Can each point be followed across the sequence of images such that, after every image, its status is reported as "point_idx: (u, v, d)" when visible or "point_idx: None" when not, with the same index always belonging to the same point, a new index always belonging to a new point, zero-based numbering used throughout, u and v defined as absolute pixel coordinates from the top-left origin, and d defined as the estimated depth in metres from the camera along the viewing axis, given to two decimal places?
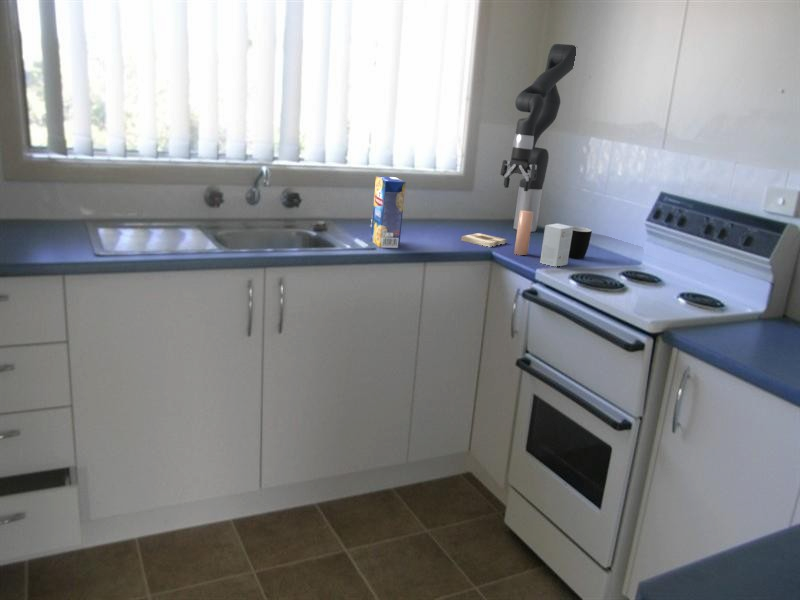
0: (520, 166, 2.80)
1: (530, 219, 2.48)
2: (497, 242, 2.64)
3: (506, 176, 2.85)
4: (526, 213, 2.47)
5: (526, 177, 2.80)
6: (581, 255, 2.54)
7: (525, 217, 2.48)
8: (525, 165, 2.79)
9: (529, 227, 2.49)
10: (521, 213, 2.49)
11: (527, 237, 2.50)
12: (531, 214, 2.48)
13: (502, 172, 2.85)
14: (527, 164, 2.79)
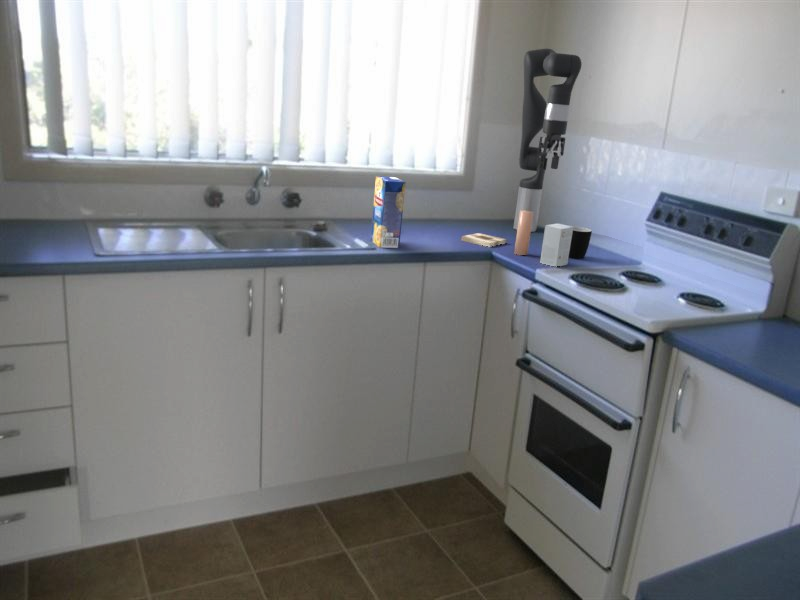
0: (559, 142, 2.38)
1: (530, 219, 2.48)
2: (497, 242, 2.64)
3: None
4: (526, 213, 2.47)
5: (559, 153, 2.42)
6: (581, 255, 2.54)
7: (525, 217, 2.48)
8: (559, 140, 2.40)
9: (529, 227, 2.49)
10: (521, 213, 2.49)
11: (527, 237, 2.50)
12: (531, 214, 2.48)
13: (545, 152, 2.34)
14: (560, 138, 2.40)
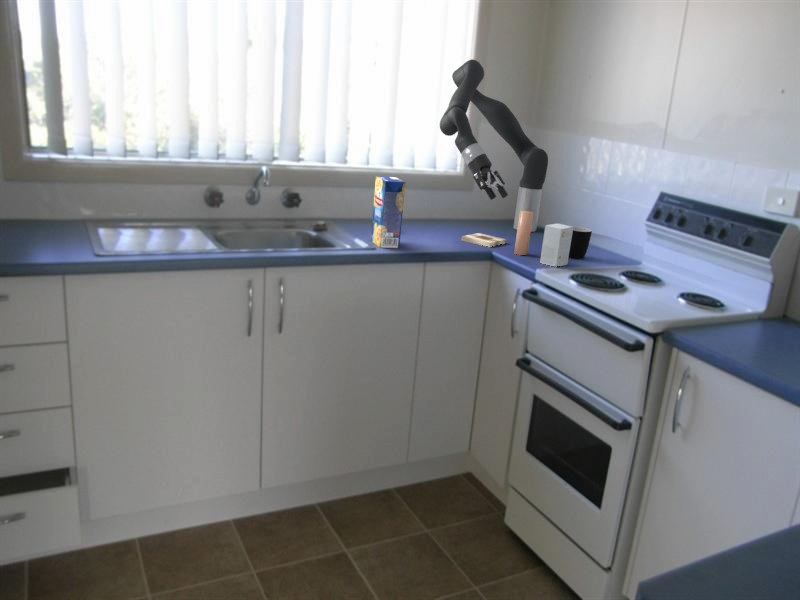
0: (492, 172, 2.56)
1: (530, 219, 2.48)
2: (497, 242, 2.64)
3: (489, 186, 2.52)
4: (526, 213, 2.47)
5: (500, 182, 2.58)
6: (581, 255, 2.54)
7: (525, 217, 2.48)
8: None
9: (529, 227, 2.49)
10: (521, 213, 2.49)
11: (527, 237, 2.50)
12: (531, 214, 2.48)
13: (485, 183, 2.50)
14: None
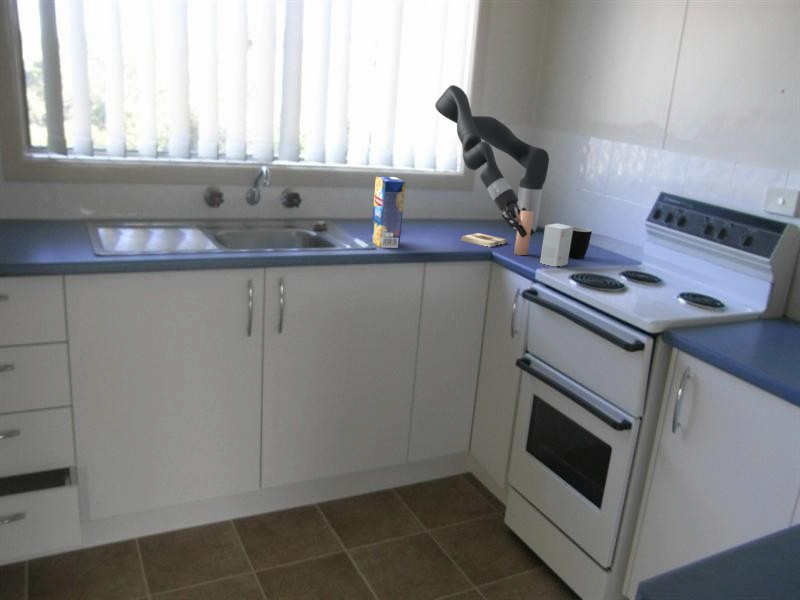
0: (519, 208, 2.52)
1: (530, 219, 2.48)
2: (497, 242, 2.64)
3: (520, 223, 2.49)
4: (526, 213, 2.47)
5: None
6: (581, 255, 2.54)
7: (525, 217, 2.48)
8: None
9: (529, 227, 2.49)
10: (521, 213, 2.49)
11: (527, 237, 2.50)
12: (531, 214, 2.48)
13: (515, 221, 2.47)
14: (519, 207, 2.55)
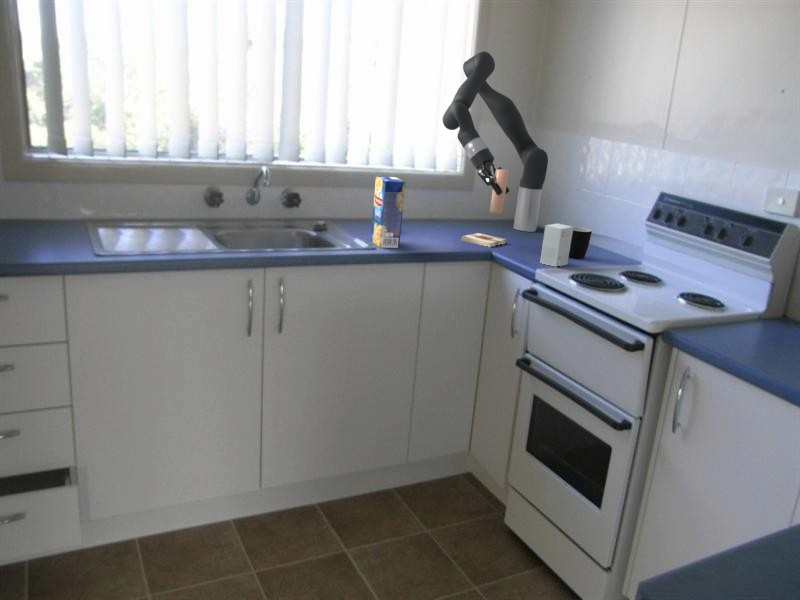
0: (495, 166, 2.59)
1: (505, 177, 2.55)
2: (497, 242, 2.64)
3: (496, 181, 2.56)
4: (501, 171, 2.54)
5: None
6: (581, 255, 2.54)
7: (500, 175, 2.55)
8: None
9: (504, 185, 2.56)
10: (496, 171, 2.56)
11: (502, 195, 2.57)
12: (506, 172, 2.55)
13: (491, 179, 2.54)
14: (495, 166, 2.62)
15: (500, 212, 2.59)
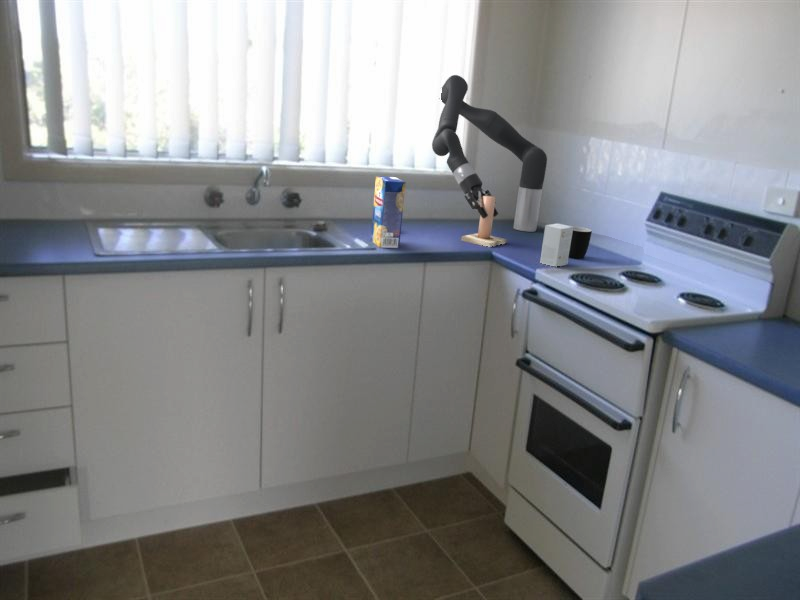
0: (483, 191, 2.66)
1: (492, 204, 2.62)
2: (497, 242, 2.64)
3: None
4: (488, 198, 2.61)
5: None
6: (581, 255, 2.54)
7: (487, 202, 2.61)
8: None
9: (491, 211, 2.63)
10: (483, 198, 2.62)
11: (489, 221, 2.64)
12: (493, 199, 2.62)
13: (476, 202, 2.60)
14: (483, 190, 2.68)
15: (488, 237, 2.65)
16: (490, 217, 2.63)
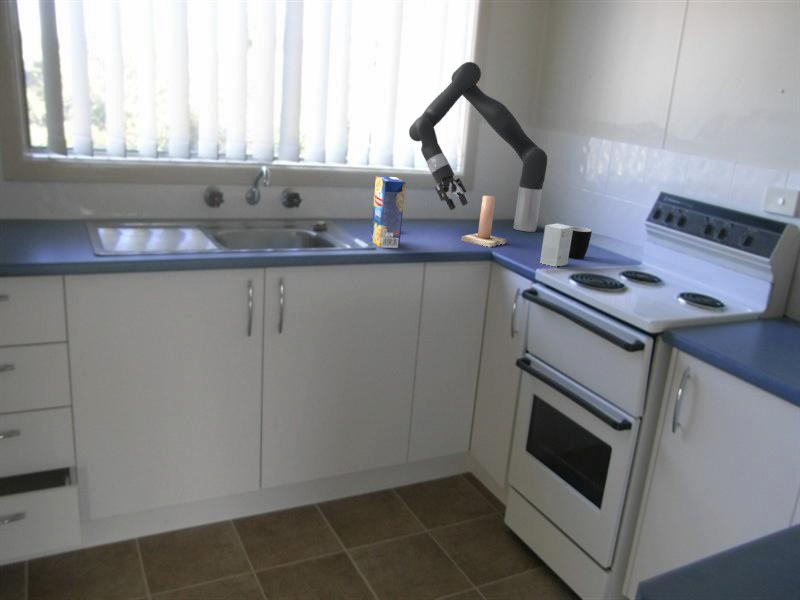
0: (454, 182, 2.74)
1: (492, 204, 2.62)
2: (497, 242, 2.64)
3: (450, 197, 2.70)
4: (488, 198, 2.61)
5: (461, 191, 2.76)
6: (581, 255, 2.54)
7: (487, 202, 2.61)
8: (454, 181, 2.75)
9: (491, 211, 2.63)
10: (483, 198, 2.62)
11: (489, 221, 2.64)
12: (493, 199, 2.62)
13: (445, 195, 2.68)
14: (454, 180, 2.76)
15: (488, 237, 2.65)
16: (490, 217, 2.63)
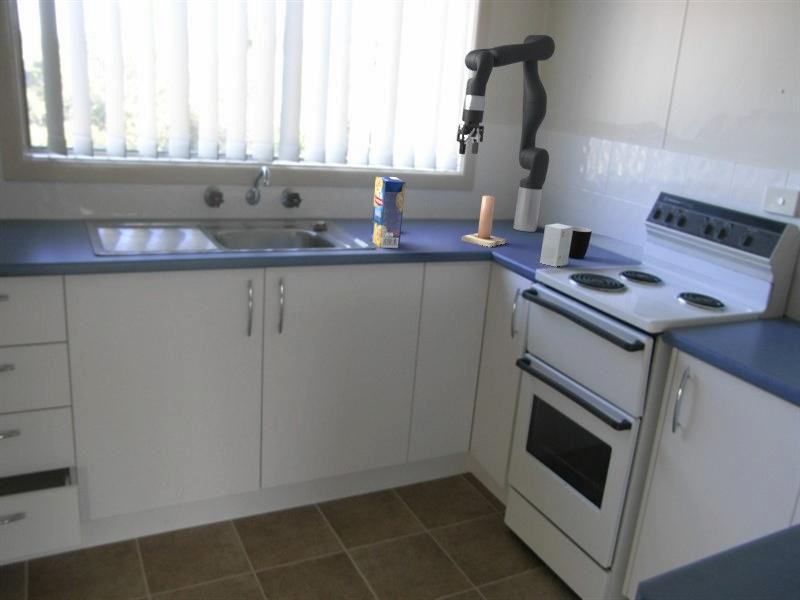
0: (477, 129, 2.66)
1: (492, 204, 2.62)
2: (497, 242, 2.64)
3: (465, 142, 2.64)
4: (488, 198, 2.61)
5: (478, 139, 2.70)
6: (581, 255, 2.54)
7: (487, 202, 2.61)
8: (478, 127, 2.68)
9: (491, 211, 2.63)
10: (483, 198, 2.62)
11: (489, 221, 2.64)
12: (493, 199, 2.62)
13: (463, 138, 2.62)
14: (479, 126, 2.68)
15: (488, 237, 2.65)
16: (490, 217, 2.63)
